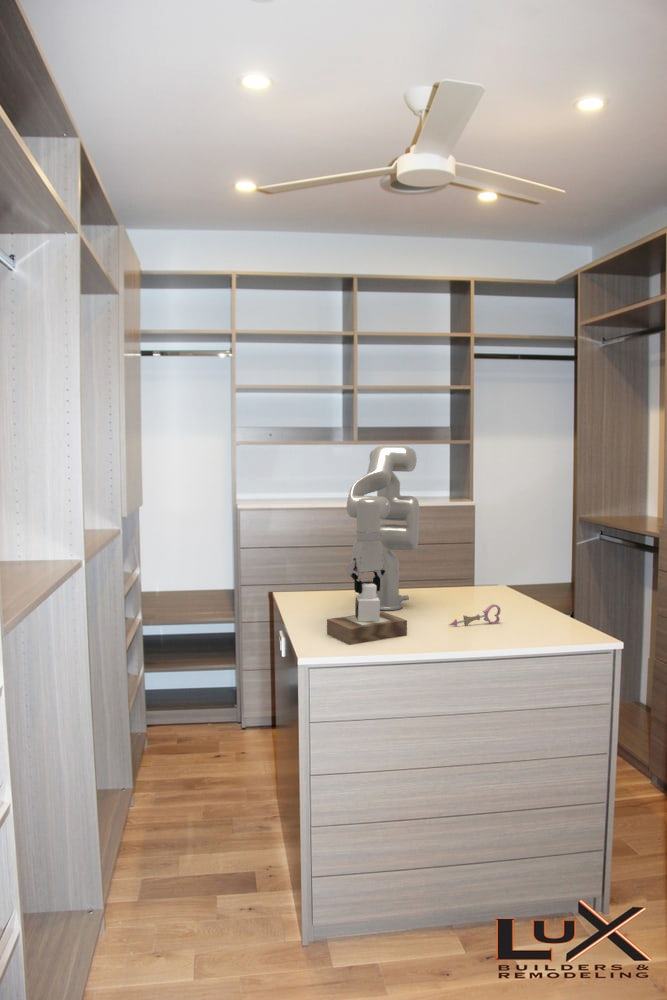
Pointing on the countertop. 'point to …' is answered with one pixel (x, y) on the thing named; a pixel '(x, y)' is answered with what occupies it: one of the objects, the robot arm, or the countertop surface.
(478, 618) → the decorative key
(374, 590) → the medicine bottle
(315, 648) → the countertop surface
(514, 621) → the countertop surface
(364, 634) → the shelf riser
